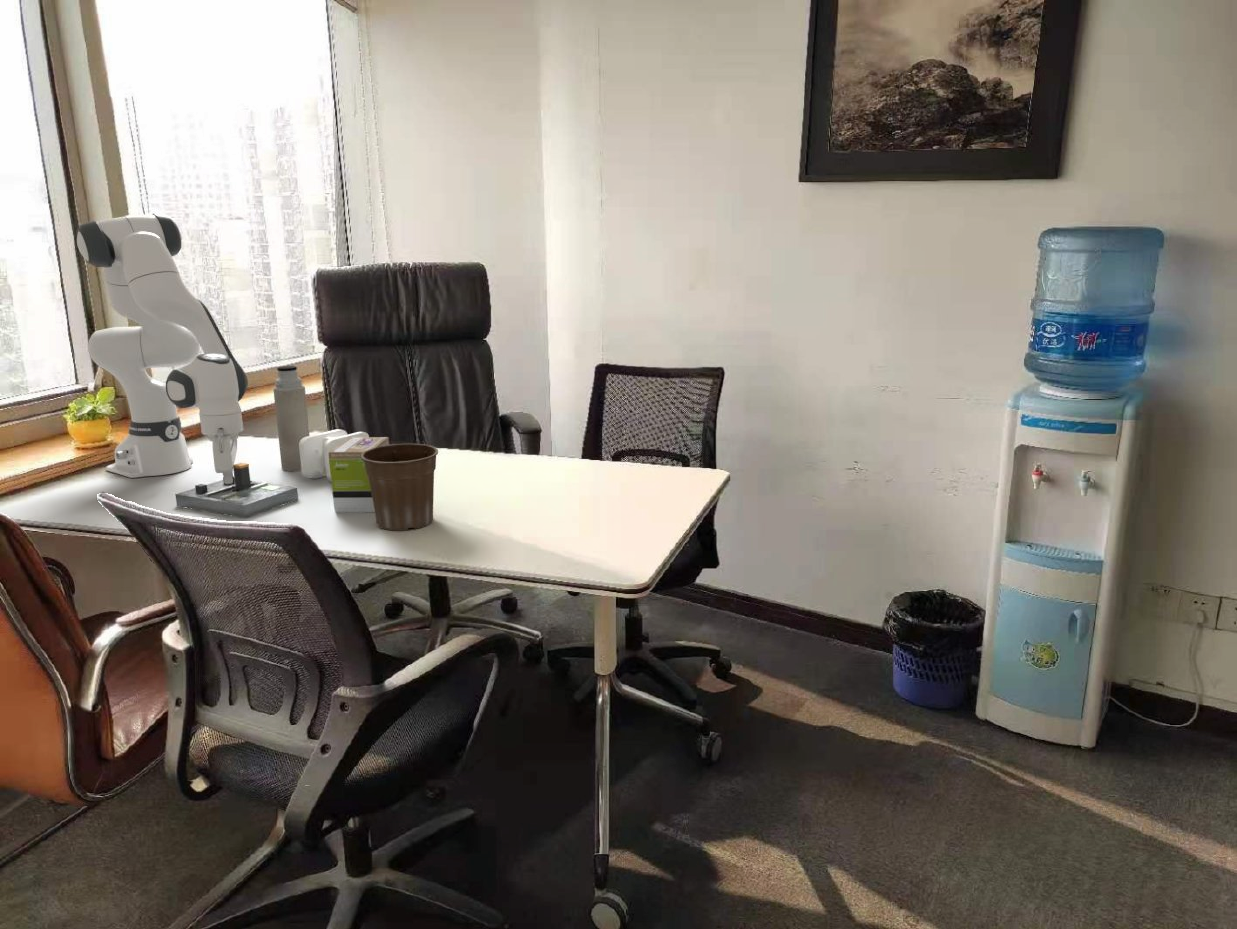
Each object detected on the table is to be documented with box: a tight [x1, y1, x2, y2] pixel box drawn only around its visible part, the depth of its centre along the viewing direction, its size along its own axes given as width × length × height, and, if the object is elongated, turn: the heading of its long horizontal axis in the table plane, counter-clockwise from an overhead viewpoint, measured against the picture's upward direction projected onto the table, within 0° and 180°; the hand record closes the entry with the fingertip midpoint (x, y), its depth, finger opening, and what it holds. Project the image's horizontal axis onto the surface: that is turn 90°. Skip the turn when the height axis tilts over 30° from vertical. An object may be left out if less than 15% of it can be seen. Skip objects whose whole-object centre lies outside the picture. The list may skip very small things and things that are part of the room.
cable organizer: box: [299, 429, 370, 481], centre depth 225 cm, size 15×11×12 cm
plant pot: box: [361, 443, 439, 532], centre depth 186 cm, size 16×16×16 cm
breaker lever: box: [232, 462, 254, 490], centre depth 204 cm, size 3×4×6 cm
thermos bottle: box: [272, 365, 311, 472], centre depth 232 cm, size 8×8×28 cm
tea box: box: [329, 436, 390, 513], centre depth 201 cm, size 15×10×15 cm, turn 178°
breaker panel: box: [174, 476, 299, 519], centre depth 203 cm, size 22×16×5 cm
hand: (229, 482), depth 200 cm, fingers closed
